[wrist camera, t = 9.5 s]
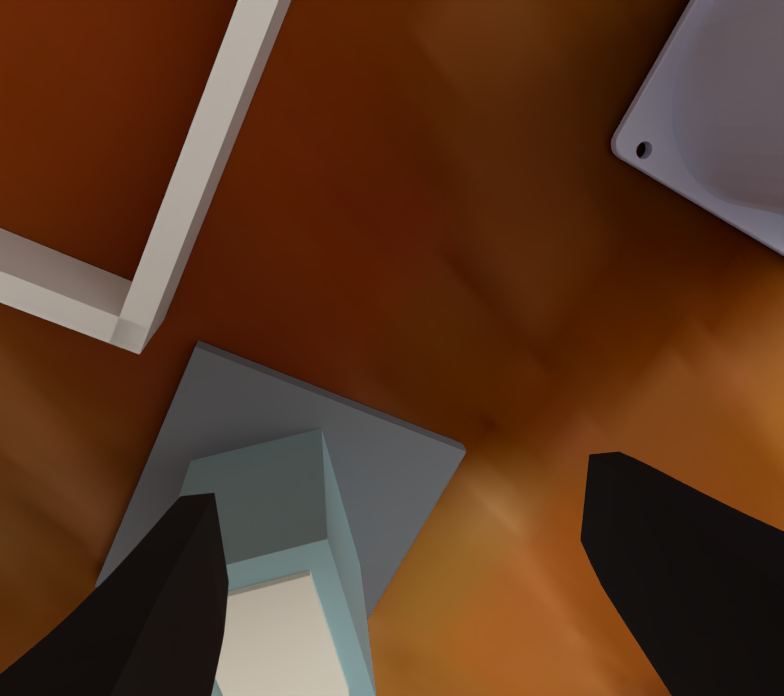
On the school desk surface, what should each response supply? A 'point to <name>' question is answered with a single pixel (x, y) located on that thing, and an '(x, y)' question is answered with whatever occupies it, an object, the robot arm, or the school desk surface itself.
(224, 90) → the parts bin
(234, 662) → the teal labelled box
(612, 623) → the school desk surface
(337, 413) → the charcoal mat
